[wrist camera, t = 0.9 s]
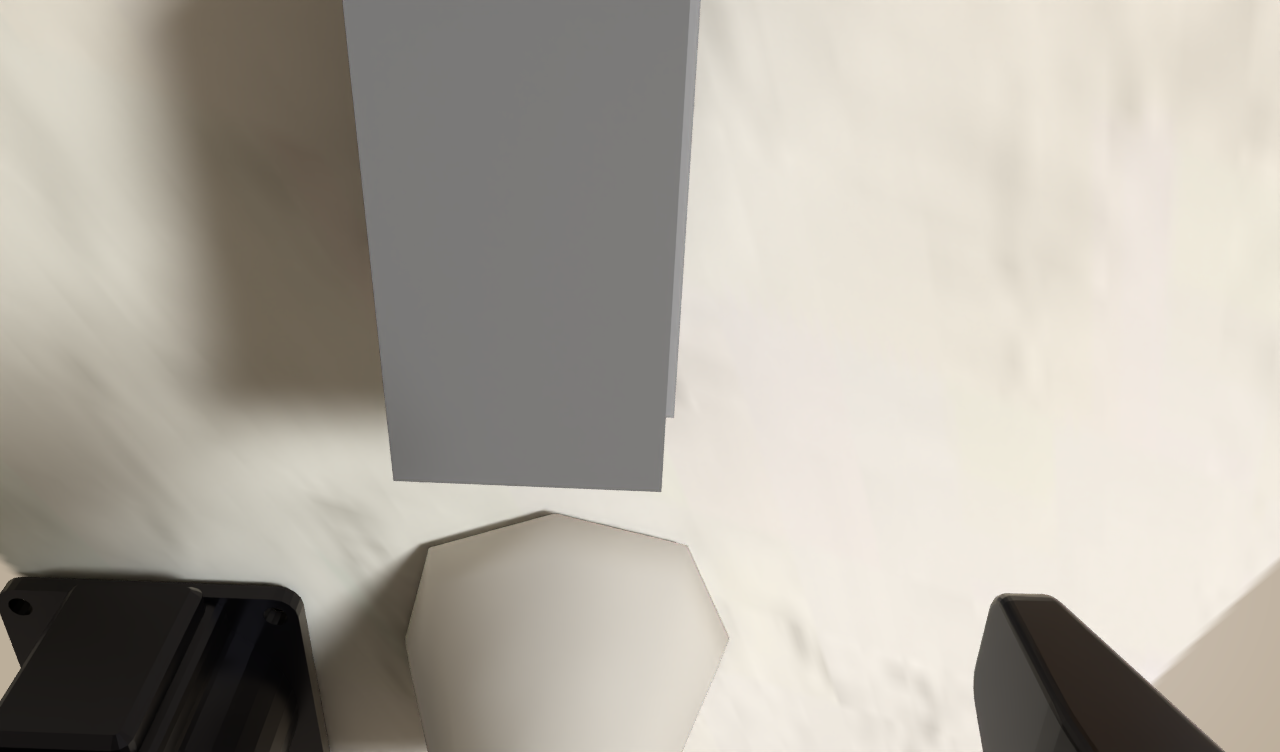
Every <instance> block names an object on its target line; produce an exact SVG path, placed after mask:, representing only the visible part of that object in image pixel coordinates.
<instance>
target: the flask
mask: <svg viewBox="0 0 1280 752" xmlns="http://www.w3.org/2000/svg"><path fill="white" fill-rule="evenodd" d="M728 640H729V636H728V634H727V631H726V629H725V627H724V625H723V623H722V620H721V618H720V616H719V614H718V612H717V609H716V607H715V605H714V603H713V601H712V598H711V596H710V594H709V592H708V589H707V587H706V585H705V583H704V581H703V578H702V576H701V574H700V572H699V570H698V567H697V565H696V563H695V561H694V559H693V556H692V554H691V552H690V550H689V548H688V546H687V545H683V544H679V543H675V542H671V541H667V540H663V539H659V538H654V537H650V536H646V535H642V534H638V533H634V532H630V531H626V530H621V529H617V528H613V527H609V526H605V525H601V524H597V523H593V522H588V521H584V520H580V519H576V518H572V517H568V516H564V515H560V514H555V513H554V514H550V515H547V516H543V517H539V518H536V519H532V520H528V521H525V522H521V523H517V524H514V525H510V526H506V527H503V528H499V529H495V530H492V531H488V532H485V533H481V534H477V535H474V536H470V537H466V538H463V539H459V540H455V541H452V542H448V543H444V544H441V545H437V546H433V547H430V548H429V549H428V553H427V557H426V561H425V565H424V569H423V572H422V576H421V580H420V584H419V588H418V592H417V595H416V599H415V603H414V607H413V611H412V615H411V618H410V622H409V626H408V630H407V634H406V638H405V643H406V649H407V654H408V660H409V666H410V671H411V676H412V681H413V685H414V690H415V695H416V699H417V704H418V708H419V713H420V717H421V722H422V727H423V731H424V736H425V740H426V745H427V750H428V752H682V751H683V749H684V746H685V744H686V742H687V739H688V737H689V735H690V732H691V730H692V728H693V725H694V723H695V721H696V718H697V716H698V714H699V711H700V709H701V707H702V704H703V702H704V700H705V697H706V695H707V693H708V690H709V688H710V686H711V683H712V681H713V679H714V676H715V674H716V672H717V669H718V666H719V664H720V661H721V659H722V656H723V653H724V651H725V648H726V646H727V643H728Z"/></svg>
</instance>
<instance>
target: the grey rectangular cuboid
mask: <svg viewBox="0 0 1280 752" xmlns="http://www.w3.org/2000/svg"><path fill="white" fill-rule="evenodd" d="M342 1H343V11H344V20H345V30H346V39H347V48H348V58H349V67H350V77H351V86H352V95H353V105H354V114H355V123H356V133H357V142H358V152H359V161H360V170H361V180H362V189H363V199H364V208H365V217H366V227H367V236H368V246H369V255H370V264H371V274H372V283H373V293H374V302H375V311H376V321H377V330H378V339H379V349H380V358H381V368H382V377H383V386H384V396H385V405H386V415H387V424H388V433H389V443H390V452H391V462H392V471H393V480H394V481H410V482H434V483H458V484H483V485H507V486H531V487H555V488H579V489H603V490H627V491H651V492H661V488H662V471H663V454H664V437H665V420H666V417H670V418H674V408H675V392H676V377H677V361H678V345H679V330H680V314H681V299H682V283H683V267H684V252H685V236H686V220H687V205H688V189H689V173H690V158H691V142H692V126H693V111H694V95H695V79H696V64H697V48H698V33H699V17H700V1H701V0H342Z"/></svg>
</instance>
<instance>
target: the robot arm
mask: <svg viewBox="0 0 1280 752" xmlns="http://www.w3.org/2000/svg"><path fill="white" fill-rule="evenodd" d="M23 599H24V600H23ZM273 608H277V609H280V610H282V611H283V612H281V611H276V610H275V609H273ZM0 614H1V617H2V620H3V622H4V625H5V627H6V630H7V633H8V635H9V638H10V640H11V643H12V646H13V648H14V651H15V653H16V656H17V659H18V661H19V664H20V667H21V669H20V671H19V672H18V674H17V675H16V677H15V678H14V680H13V682H12V683H11V685H10V686H9V688H8V690H7V691H6V693H5V694H4V696H3V698H2V699H1V701H0V752H330V749H329V743H328V738H327V732H326V726H325V721H324V715H323V710H322V704H321V698H320V693H319V687H318V682H317V676H316V670H315V665H314V659H313V654H312V648H311V643H310V637H309V631H308V626H307V620H306V615H305V609H304V604H303V602H302V599H301V597H299V596H298V595H297V594H296V593H295V592H294V591H292V590H289V589H287V588H283V587H278V586H251V585H225V584H198V583H172V582H146V581H119V580H93V579H66V578H40V577H18V578H14V579H12V580H10V581H9V582H8V583H7V584H6V586H5V587H4V589H3V590H2V592H1V593H0ZM973 689H974V701H975V707H976V713H977V719H978V725H979V731H980V737H981V743H982V749H983V752H1225V751H1224V750H1223V749H1222V748H1220V747H1219V746H1218V745H1217V744H1216V743H1215V742H1214V741H1213V740H1212V739H1210V738H1209V737H1208V736H1207V735H1206V734H1205V733H1204V732H1203V731H1202V730H1201V729H1199V728H1198V727H1197V726H1196V725H1195V724H1194V723H1193V722H1192V721H1191V720H1190V719H1189V718H1187V717H1186V716H1185V715H1184V714H1183V713H1182V712H1181V711H1180V710H1179V709H1178V708H1176V707H1175V706H1174V705H1173V704H1172V703H1171V702H1170V701H1169V700H1168V699H1167V698H1165V697H1164V696H1163V695H1162V694H1161V693H1160V692H1159V691H1158V690H1157V689H1156V688H1154V687H1153V686H1152V685H1151V684H1150V683H1149V682H1148V681H1147V680H1146V679H1145V678H1143V677H1142V676H1141V675H1140V674H1139V673H1138V672H1137V671H1136V670H1135V669H1134V668H1132V667H1131V666H1130V665H1129V664H1128V663H1127V662H1126V661H1125V660H1124V659H1123V658H1121V657H1120V656H1119V655H1118V654H1117V653H1116V652H1115V651H1114V650H1113V649H1112V648H1110V647H1109V646H1108V645H1107V644H1106V643H1105V642H1104V641H1103V640H1102V639H1101V638H1099V637H1098V636H1097V635H1096V634H1095V633H1094V632H1093V631H1092V630H1091V629H1090V628H1089V627H1087V626H1086V625H1085V624H1084V623H1083V622H1082V621H1081V620H1080V619H1079V618H1078V617H1076V616H1075V615H1074V614H1073V613H1072V612H1071V611H1070V610H1069V609H1068V608H1067V607H1065V606H1064V605H1063V604H1062V603H1061V602H1060V601H1058V600H1057V599H1055V598H1054V597H1052V596H1050V595H1045V594H1011V593H1005V594H1001V595H999V596H997V597H996V598H995V599H994V600H993V602H992V604H991V606H990V609H989V613H988V617H987V621H986V625H985V629H984V633H983V637H982V641H981V645H980V649H979V654H978V658H977V662H976V666H975V671H974V687H973Z"/></svg>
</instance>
